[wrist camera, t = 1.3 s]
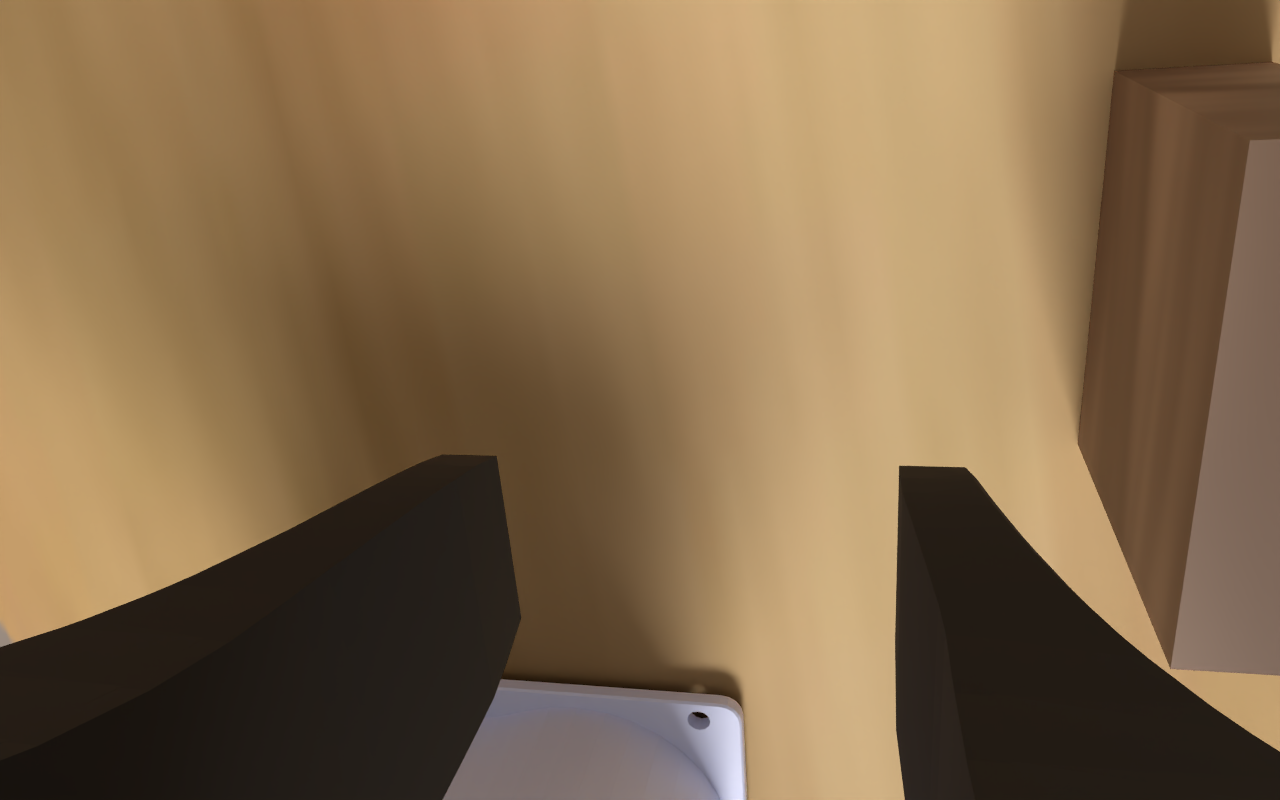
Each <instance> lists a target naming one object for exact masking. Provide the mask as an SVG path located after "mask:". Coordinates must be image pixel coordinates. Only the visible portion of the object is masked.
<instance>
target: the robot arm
mask: <svg viewBox="0 0 1280 800" xmlns="http://www.w3.org/2000/svg"><path fill="white" fill-rule="evenodd" d="M520 620H521V614H520V607H519V601H518V594H517V587H516V581H515V574H514V568H513V561H512V555H511V548H510V541H509V535H508V528H507V522H506V515H505V509H504V502H503V495H502V489H501V482H500V476H499V469H498V463H497V456H476V455H441V456H438V457H435V458H432V459H429V460H427V461H424V462H422V463H419V464H417V465H415V466H413V467H411V468H408V469H406V470H404V471H402V472H400V473H398V474H396V475H394V476H392V477H390V478H388V479H386V480H384V481H382V482H380V483H378V484H376V485H374V486H372V487H370V488H368V489H366V490H364V491H362V492H361V493H359V494H357V495H355V496H353V497H351V498H349V499H347V500H345V501H343V502H341V503H339V504H337V505H336V506H334V507H332V508H330V509H328V510H326V511H324V512H322V513H320V514H318V515H316V516H314V517H312V518H311V519H309V520H307V521H305V522H303V523H301V524H299V525H297V526H295V527H293V528H291V529H289V530H287V531H285V532H283V533H281V534H279V535H277V536H275V537H273V538H271V539H269V540H267V541H265V542H262V543H260V544H258V545H256V546H254V547H252V548H250V549H248V550H246V551H244V552H242V553H239V554H237V555H235V556H233V557H231V558H229V559H227V560H225V561H223V562H221V563H219V564H217V565H214V566H212V567H210V568H208V569H206V570H204V571H202V572H200V573H198V574H196V575H193V576H191V577H189V578H186V579H184V580H182V581H180V582H177V583H175V584H173V585H170V586H168V587H166V588H163V589H161V590H158V591H156V592H154V593H151V594H149V595H146V596H144V597H142V598H139V599H136V600H134V601H131V602H129V603H126V604H123V605H121V606H118V607H116V608H113V609H110V610H108V611H105V612H103V613H100V614H98V615H95V616H92V617H90V618H87V619H84V620H82V621H79V622H76V623H73V624H70V625H68V626H65V627H62V628H59V629H56V630H53V631H50V632H47V633H43V634H40V635H37V636H34V637H31V638H28V639H25V640H21V641H18V642H15V643H12V644H9V645H6V646H3V647H0V800H747V781H746V761H745V740H744V720H743V711H742V708H741V706H740V705H739V704H738V703H737V702H736V701H735V700H733V699H732V698H730V697H727V696H722V695H712V694H698V693H684V692H671V691H657V690H643V689H629V688H616V687H602V686H588V685H574V684H561V683H547V682H533V681H520V680H506V679H501V677H502V674H503V672H504V669H505V666H506V663H507V660H508V657H509V654H510V651H511V648H512V645H513V641H514V638H515V635H516V632H517V629H518V626H519V623H520ZM895 661H896V731H897V740H898V748H899V756H900V764H901V772H902V780H903V788H904V796H905V800H1280V752H1279V751H1278V750H1276V749H1275V748H1273V747H1271V746H1270V745H1268V744H1267V743H1265V742H1264V741H1262V740H1260V739H1259V738H1257V737H1256V736H1254V735H1253V734H1251V733H1249V732H1248V731H1247V730H1245V729H1244V728H1242V727H1241V726H1239V725H1238V724H1236V723H1235V722H1233V721H1232V720H1231V719H1229V718H1228V717H1226V716H1225V715H1223V714H1222V713H1220V712H1219V711H1217V710H1216V709H1215V708H1213V707H1212V706H1210V705H1209V704H1208V703H1206V702H1205V701H1204V700H1202V699H1201V698H1200V697H1198V696H1197V695H1196V694H1194V693H1193V692H1192V691H1190V690H1189V689H1188V688H1186V687H1185V686H1184V685H1183V684H1181V683H1180V682H1179V681H1177V680H1176V679H1175V678H1173V677H1172V676H1171V675H1169V674H1168V673H1167V672H1165V671H1164V670H1163V669H1161V668H1160V667H1159V666H1158V665H1156V664H1155V663H1154V662H1152V661H1151V660H1150V659H1148V658H1147V657H1146V656H1145V655H1144V654H1142V653H1141V652H1140V651H1139V650H1137V649H1136V648H1135V647H1134V646H1133V645H1131V644H1130V643H1129V642H1128V641H1127V640H1125V639H1124V638H1123V637H1122V636H1121V635H1120V634H1118V633H1117V632H1116V631H1115V630H1114V629H1113V628H1112V627H1111V626H1110V625H1109V624H1108V623H1106V622H1105V621H1104V620H1103V619H1102V618H1101V617H1100V616H1099V615H1098V614H1097V613H1095V612H1094V611H1093V610H1092V609H1091V608H1090V607H1089V606H1088V605H1087V604H1086V603H1085V602H1084V601H1083V600H1082V599H1081V598H1080V597H1079V596H1078V595H1077V594H1076V593H1075V592H1074V591H1073V590H1072V589H1071V588H1070V587H1069V586H1068V585H1067V584H1066V583H1065V582H1064V581H1063V580H1062V579H1061V578H1060V577H1059V576H1058V575H1057V574H1056V572H1055V571H1054V570H1053V569H1052V568H1051V567H1050V566H1049V565H1048V564H1047V563H1046V562H1045V561H1044V560H1043V559H1042V557H1041V556H1040V555H1039V554H1038V553H1037V552H1036V551H1035V550H1034V549H1033V548H1032V547H1031V545H1030V544H1029V543H1028V542H1027V541H1026V540H1025V539H1024V538H1023V536H1022V535H1021V534H1020V533H1019V532H1018V530H1017V529H1016V528H1015V527H1014V526H1013V524H1012V523H1011V522H1010V521H1009V520H1008V518H1007V517H1006V516H1005V515H1004V514H1003V512H1002V511H1001V510H1000V509H999V507H998V506H997V505H996V504H995V502H994V501H993V500H992V499H991V497H990V496H989V495H988V493H987V492H986V491H985V489H984V488H983V487H982V485H981V484H980V483H979V481H978V480H977V479H976V478H975V477H974V476H973V475H972V474H971V473H970V472H969V471H968V470H967V469H966V468H965V467H925V466H899V501H898V545H897V588H896V632H895ZM692 712H702V713H704V714H705V715H707V716H708V718H699V717H696V716H695V715H693V714H692Z"/></svg>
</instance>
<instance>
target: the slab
mask: <svg viewBox="0 0 1280 800" xmlns="http://www.w3.org/2000/svg"><path fill="white" fill-rule="evenodd" d="M1078 446H1079V448H1080V450H1081V453H1082V455H1083V458H1084V460H1085V463H1086V465H1087V467H1088V470H1089V472H1090V475H1091V477H1092V479H1093V482H1094V484H1095V487H1096V489H1097V492H1098V494H1099V496H1100V499H1101V501H1102V504H1103V506H1104V509H1105V511H1106V513H1107V516H1108V518H1109V521H1110V523H1111V526H1112V528H1113V530H1114V533H1115V535H1116V538H1117V540H1118V543H1119V545H1120V547H1121V550H1122V552H1123V555H1124V557H1125V560H1126V562H1127V564H1128V567H1129V569H1130V572H1131V574H1132V577H1133V579H1134V581H1135V584H1136V586H1137V589H1138V591H1139V594H1140V596H1141V598H1142V601H1143V603H1144V606H1145V608H1146V611H1147V613H1148V615H1149V618H1150V620H1151V623H1152V625H1153V627H1154V630H1155V632H1156V635H1157V637H1158V640H1159V642H1160V644H1161V647H1162V649H1163V652H1164V654H1165V657H1166V659H1167V661H1168V664H1169V666H1170V669H1181V670H1198V671H1214V672H1230V673H1247V674H1263V675H1280V64H1277V63H1273V62H1264V63H1246V64H1228V65H1210V66H1193V67H1175V68H1157V69H1139V70H1122V71H1114V79H1113V89H1112V99H1111V109H1110V120H1109V130H1108V140H1107V151H1106V161H1105V171H1104V181H1103V192H1102V202H1101V212H1100V222H1099V233H1098V243H1097V253H1096V264H1095V274H1094V284H1093V294H1092V305H1091V315H1090V325H1089V335H1088V346H1087V356H1086V366H1085V377H1084V387H1083V397H1082V407H1081V418H1080V428H1079V438H1078Z"/></svg>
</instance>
